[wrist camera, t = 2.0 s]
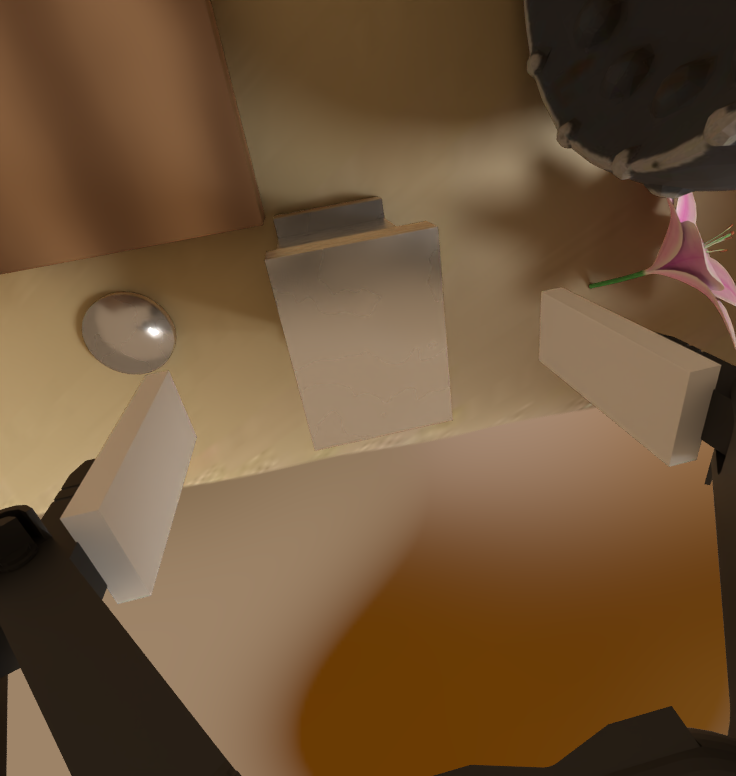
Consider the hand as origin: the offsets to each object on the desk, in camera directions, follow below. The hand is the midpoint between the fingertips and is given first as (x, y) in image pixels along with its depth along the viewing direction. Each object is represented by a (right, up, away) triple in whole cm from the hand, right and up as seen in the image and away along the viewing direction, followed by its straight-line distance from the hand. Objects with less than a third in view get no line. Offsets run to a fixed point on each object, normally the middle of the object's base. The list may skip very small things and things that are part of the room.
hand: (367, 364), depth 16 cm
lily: (+18, +9, +14) cm, 25 cm away
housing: (-2, +6, +12) cm, 13 cm away
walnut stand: (-13, +13, +6) cm, 19 cm away
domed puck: (-14, +3, +12) cm, 19 cm away
